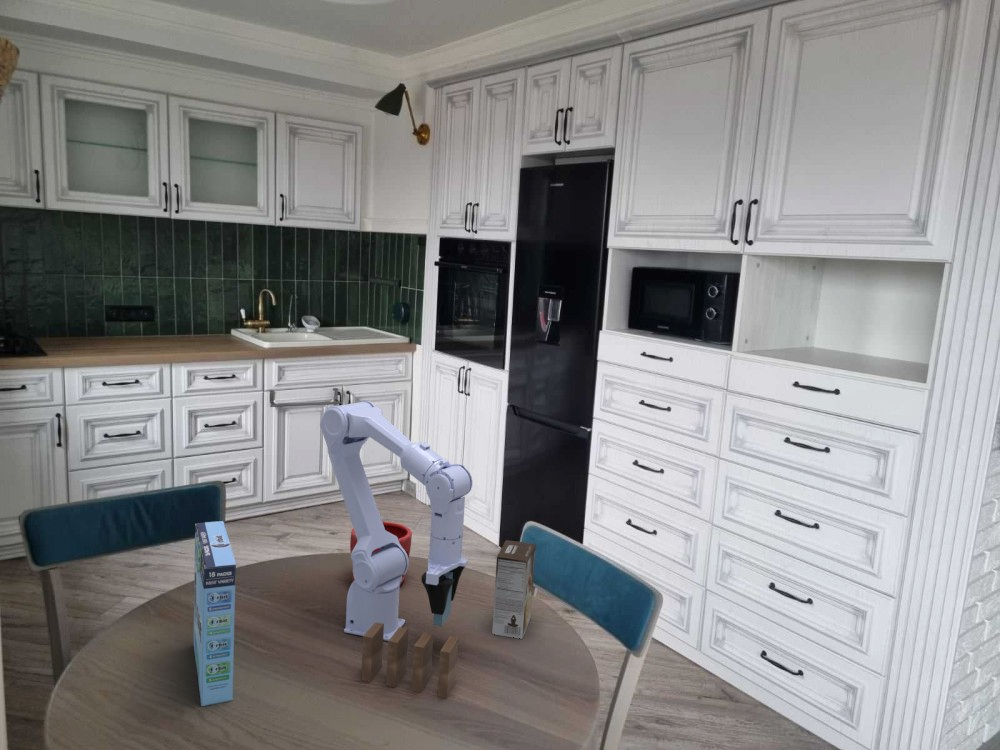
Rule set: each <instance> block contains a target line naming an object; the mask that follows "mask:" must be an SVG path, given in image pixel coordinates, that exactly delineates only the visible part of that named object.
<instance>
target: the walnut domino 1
mask: <svg viewBox="0 0 1000 750" xmlns="http://www.w3.org/2000/svg"><path fill="white" fill-rule="evenodd" d="M383 633H384V624H382V623H377V622H375V623H374V624H373V625H372V627H371V628H370V629H369V630H368V631H367V632H366V633H365V634H364V636H362V650H361V651H362V657H361V660H362V662H361V677H360V678H361V681H362V682H367V683H372V680H373V679H374V678H375V677H376V675H377V674H379V671H380V670H381V669H382V668H383V655H384V654H383V652H384V640H383Z"/></svg>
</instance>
